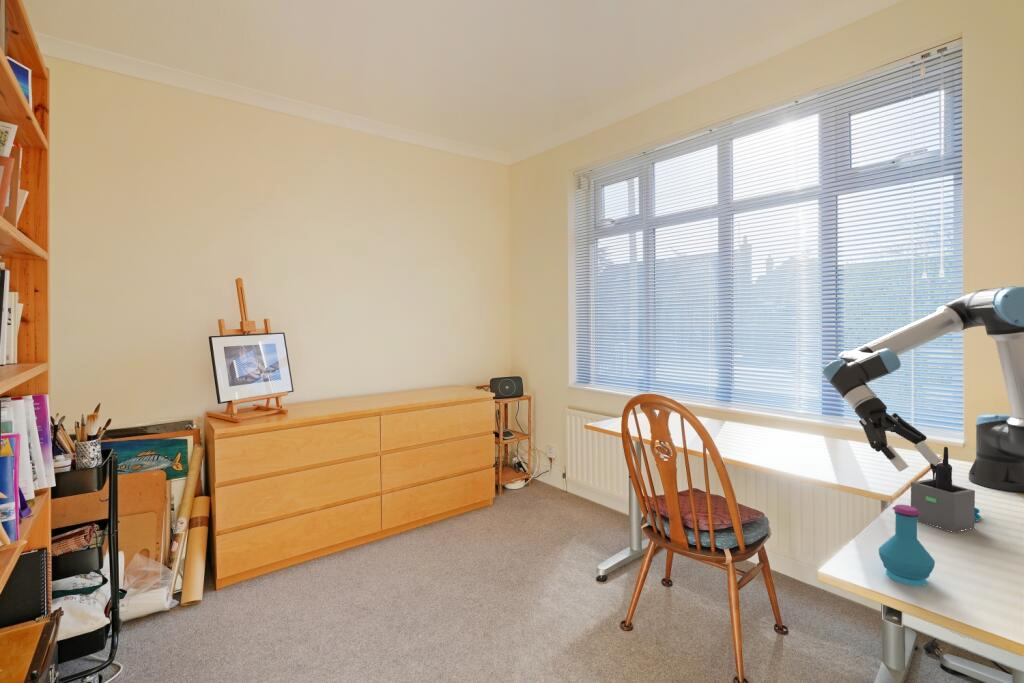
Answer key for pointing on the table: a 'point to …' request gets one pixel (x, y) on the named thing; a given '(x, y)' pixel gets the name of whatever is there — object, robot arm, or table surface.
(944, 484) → the two-way radio
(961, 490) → the charging dock
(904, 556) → the perfume bottle
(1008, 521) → the table surface
